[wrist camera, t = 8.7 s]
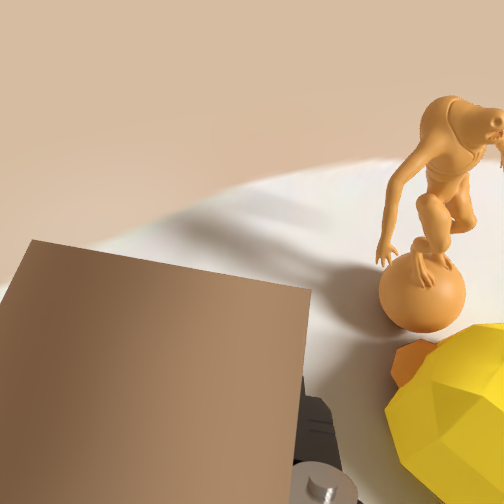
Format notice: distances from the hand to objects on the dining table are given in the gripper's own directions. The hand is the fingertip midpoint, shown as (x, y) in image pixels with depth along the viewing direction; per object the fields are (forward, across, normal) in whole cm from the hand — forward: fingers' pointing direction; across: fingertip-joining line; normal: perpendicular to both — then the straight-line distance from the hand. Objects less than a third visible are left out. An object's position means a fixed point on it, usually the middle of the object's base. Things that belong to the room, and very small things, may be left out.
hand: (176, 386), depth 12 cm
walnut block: (+2, 0, +5) cm, 5 cm away
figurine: (+13, -9, 0) cm, 16 cm away
